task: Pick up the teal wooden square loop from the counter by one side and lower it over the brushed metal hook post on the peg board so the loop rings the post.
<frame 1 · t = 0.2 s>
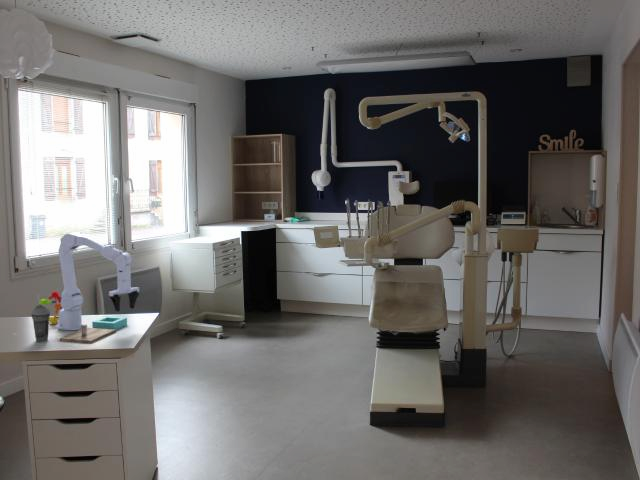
hand: (124, 309, 286), 10 cm above the table, fingers open, 7 cm apart
educational toy: (56, 321, 305), on the table
peg board: (88, 336, 277), on the table
loop: (110, 327, 294), on the table
beverage cup: (42, 341, 270), on the table
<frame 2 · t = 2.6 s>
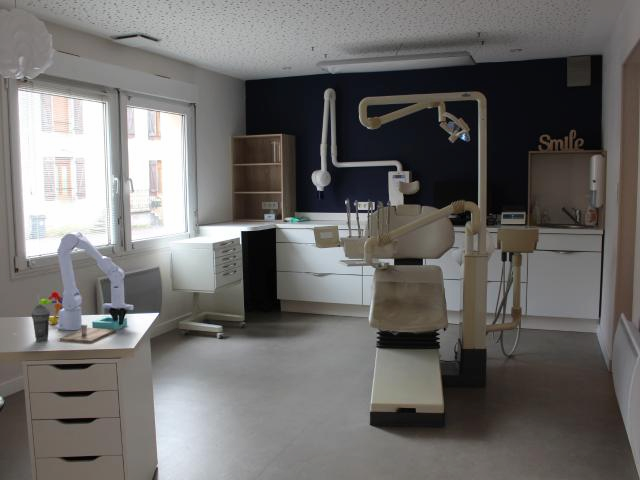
hand: (118, 324, 292), 2 cm above the table, fingers closed on loop, 2 cm apart
loop: (110, 327, 294), on the table, touching gripper
everything else where it was.
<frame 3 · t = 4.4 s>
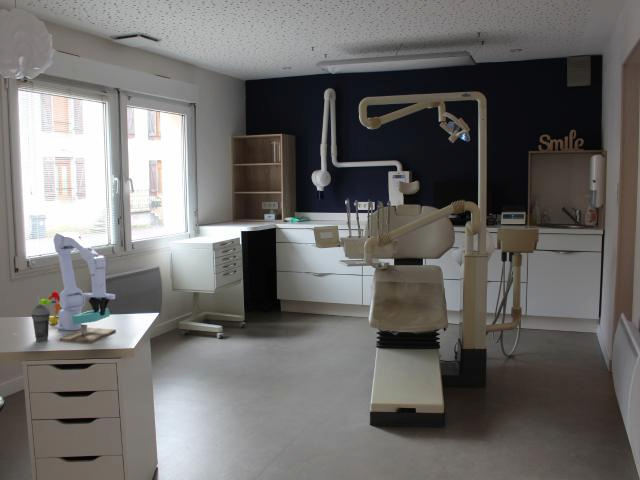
hand: (99, 314, 277), 9 cm above the table, fingers closed on loop, 2 cm apart
loop: (91, 320, 278), point 7 cm above the table, tilted 10°, touching gripper
everything else where it was.
when the fingers open (4 cm above the table, at t = 6.5 s): loop stays where it is, resting on peg board.
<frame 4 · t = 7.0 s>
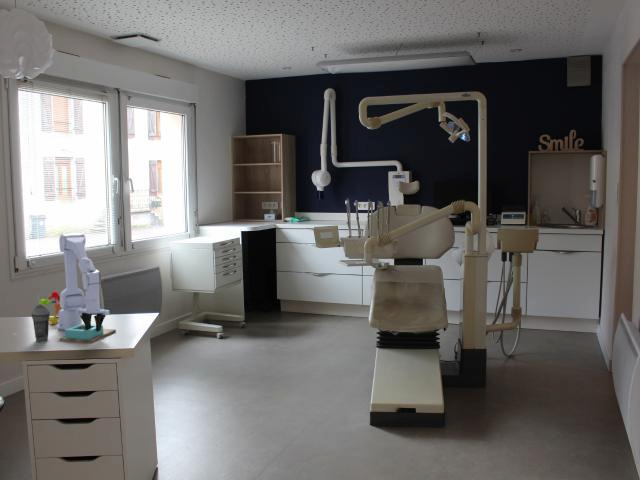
hand: (93, 330, 273), 4 cm above the table, fingers open, 4 cm apart
loop: (84, 335, 274), point 1 cm above the table, touching peg board
everything else where it was.
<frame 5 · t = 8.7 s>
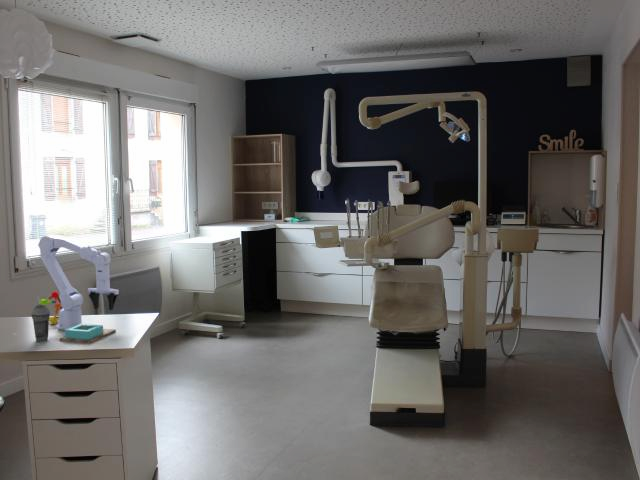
hand: (103, 309, 288), 9 cm above the table, fingers open, 7 cm apart
nothing on the table moved.
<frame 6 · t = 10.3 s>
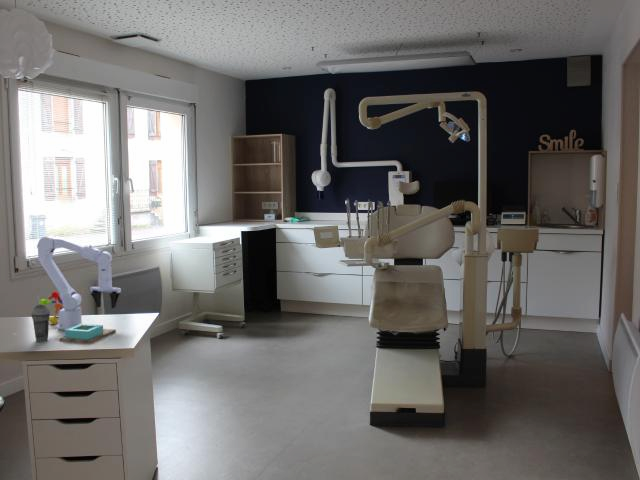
hand: (106, 307, 292), 9 cm above the table, fingers open, 7 cm apart
nothing on the table moved.
at the end: loop 0.1 cm from the target spot on the peg board, point 1.2 cm above the peg board's base; the gripper is holding nothing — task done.
